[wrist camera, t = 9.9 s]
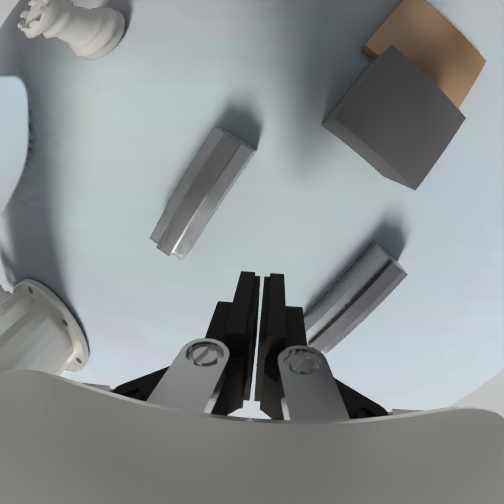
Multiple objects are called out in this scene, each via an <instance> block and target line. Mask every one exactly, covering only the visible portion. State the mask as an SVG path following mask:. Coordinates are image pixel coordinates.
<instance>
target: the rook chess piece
mask: <svg viewBox="0 0 504 504" xmlns="http://www.w3.org/2000/svg"><path fill="white" fill-rule="evenodd" d="M28 5H30V6H31V7H30V9H29V10H28V11H26V10H23V11H22V13H21V15H20V17H22V18H24V21H20V22H19V23H18V28H20V29H21V30H20V31H24V33H25V35H26V36H27V37H28V38H34V37H35V36H37V35H39V34H41V33H43V36H44V37H45V38H51V37H57V38H59V39H61V40H63V41H65V42H67V43H68V44H69V46H70V47H71V48H72V51H73V52H75V53H76V54H77V55H78V56H79V57H84V58H85V59H89V60H95V59H98V58H101V57H103V56H104V55H106V54H107V53H108V52H110V51H111V50H113V49H114V47H115V46H116V45H117V44H118V43H119V41H120V39H121V37H122V35H123V33H124V27H125V19H124V16H123V14H122V13H120V12H119V11H117V10H113V9H112V8H109V7H99V8H92V9H86V8H82V7H77V6H75V5H73V2H72V1H70V0H66V1H61V0H30V1H29V2H28Z"/></svg>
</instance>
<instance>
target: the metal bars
mask: <svg viewBox="0 0 504 504" xmlns="http://www.w3.org/2000/svg"><path fill="white" fill-rule="evenodd" d="M256 151H257V150H255V149H254V148H252V147H251V146H249V145H248V144H246V143H245V142H243V141H242V140H240V139H239V138H237V137H236V136H234V135H233V134H231V133H230V132H228V131H226V130H225V129H223V128H218V127H214V129H213V130H212V132H211V133H210V135H209V136H208V138H207V139H206V141H205V143H204V144H203V146H202V147H201V149H200V150H199V152H198V154H197V155H196V157H195V158H194V160H193V162H192V163H191V165H190V167H189V168H188V170H187V172H186V173H185V175H184V177H183V178H182V180H181V182H180V184H179V185H178V187H177V189H176V190H175V192H174V194H173V196H172V198H171V199H170V201H169V203H168V205H167V206H166V208H165V210H164V212H163V214H162V216H161V218H160V219H159V221H158V223H157V225H156V227H155V229H154V231H153V233H152V235H151V237H150V239H151V240H153V241H154V242H156V243H157V244H158V245H157V248H158V249H160V250H161V251H162V252H164V253H165V254H167V255H168V256H170V255H171V254H173V255H174V256H175V257H177V258H178V259H180V260H182V259H183V258H184V256H185V255H186V254H187V253H188V252H189V251H190V249H191V248H192V247H193V245H194V243H195V242H196V240H197V239H198V237H199V236H200V234H201V232H202V231H203V229H204V228H205V226H206V225H207V223H208V222H209V220H210V218H211V217H212V215H213V214H214V212H215V211H216V209H217V208H218V206H219V205H220V203H221V202H222V200H223V199H224V197H225V196H226V194H227V193H228V191H229V190H230V188H231V187H232V185H233V184H234V182H235V181H236V180H237V178H238V177H239V175H240V174H241V172H242V171H243V169H244V168H245V167H246V165H247V164H248V162H249V161H250V159H251V158H252V157H253V155H254V154H255V152H256ZM406 276H407V273H406V272H405V271H404V269H403V268H402V267H401V265H400V264H399V263H398V261H396V260H395V259H394V258H393V257H392V256H391V255H390V254H389V253H388V252H386V251H385V250H384V249H383V248H382V247H381V246H380V245H379V244H377V243H376V242H375V241H374V242H373V243H372V244H371V245H370V246H369V248H368V249H367V250H366V251H365V252H364V253H363V254H362V256H361V257H360V258H359V259H358V260H357V261H356V262H355V264H354V265H353V266H352V267H351V268H350V269H349V270H348V271H347V272H346V273H345V275H344V276H343V277H342V278H341V279H340V280H339V281H338V282H337V283H336V284H335V285H334V286H333V287H332V289H331V290H330V291H329V292H328V293H327V294H326V295H325V296H324V297H323V298H322V299H321V300H320V301H319V302H318V303H317V304H316V305H315V306H314V307H313V308H312V309H311V310H310V311H309V312H308V313H307V314H306V315H305V316H304V323H305V331H306V338H307V342H308V346H309V347H312V348H314V349H317V350H318V351H320V352H321V351H323V352H325V353H327V352H329V351H330V350H331V349H332V348H333V347H334V346H336V345H337V344H338V343H339V342H340V341H341V340H342V339H343V338H345V337H346V336H347V335H348V334H349V333H350V332H351V331H352V330H353V329H354V328H356V327H357V326H358V325H359V324H360V323H361V322H362V321H363V320H364V319H365V318H366V317H367V316H368V315H369V314H370V313H371V312H372V311H373V310H374V309H375V308H376V307H377V306H378V305H379V304H380V303H381V302H382V301H383V300H384V299H385V298H386V297H387V296H388V295H389V294H390V293H391V292H392V291H393V290H394V289H395V288H396V287H397V286H398V285H399V283H400V282H401V281H402V280H403V279H404V278H405V277H406Z"/></svg>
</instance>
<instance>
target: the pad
mask: <svg viewBox="0 0 504 504" xmlns="http://www.w3.org/2000/svg"><path fill="white" fill-rule="evenodd" d="M391 45H393V46H394V47H395V48H397V49H398V50H399V51H400V52H401V53H403V54H404V55H405V56H406V57H407V58H408V59H410V60H411V61H412V62H413V63H414V64H415V65H416V66H417V67H418V68H419V69H421V70H422V71H423V72H424V73H425V74H426V75H427V76H428V77H429V78H430V79H431V80H432V81H433V82H434V83H435V84H436V85H437V86H438V87H439V88H440V89H441V90H442V91H443V92H444V94H445V95H446V96H447V97H448V98H449V99H450V100H451V101H452V102H453V103H454V105H455V106H456V107H457V108H459V107H460V105H461V104H462V102H463V100H464V99H465V97H466V95H467V94H468V92H469V91H470V89H471V87H472V85H473V84H474V82H475V80H476V79H477V77H478V75H479V73H480V72H481V70H482V68H483V66H484V64H485V63H486V60H485V59H484V58H483V57H482V56H481V54H480V53H479V52H478V51H477V50H476V49H475V48H474V46H473V45H472V44H471V43H470V42H469V41H468V40H467V39H466V38H465V37H464V36H463V35H462V34H461V33H460V32H459V31H458V30H457V29H456V28H455V27H454V26H453V25H452V24H451V23H450V22H449V21H448V20H447V19H446V18H445V17H443V16H442V15H441V14H440V13H439V12H438V11H437V10H436V9H434V8H433V7H432V6H431V5H430V4H428V3H427V2H426V1H425V0H403V1H402V2H401V3H400V4H399V5H398V6H397V8H396V9H395V10H394V11H393V12H392V13H391V14H390V16H389V17H388V18H387V19H386V20H385V21H384V23H383V24H382V25H381V26H380V27H379V28H378V30H377V31H376V32H375V33H374V34H373V36H372V37H371V38H370V39H369V40H368V42H367V43H366V44H365V45H364V46H363V48H362V49H361V50H362V51H363V52H365V53H366V54H367V55H369V56H370V57H371V58H373V59H374V60H375V59H376V58H377V57H378V56H379V55H381V54H382V53H383V52H384V51H385V50H386V49H387V48H388V47H390V46H391Z"/></svg>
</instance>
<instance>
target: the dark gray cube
mask: <svg viewBox="0 0 504 504" xmlns="http://www.w3.org/2000/svg"><path fill="white" fill-rule="evenodd" d="M464 120H465V116H464V115H463V114H462V113H461V112H460V110H459V109H458V108H457V107H456V106H455V105H454V103H453V102H452V101H451V100H450V99H449V98H448V97H447V96H446V95H445V94H444V92H443V91H442V90H441V89H440V88H439V87H438V86H437V85H436V84H435V83H434V82H433V81H432V80H431V79H430V78H429V77H428V76H427V75H426V74H425V73H424V72H423V71H422V70H421V69H419V68H418V67H417V66H416V65H415V64H414V63H413V62H412V61H411V60H410V59H408V58H407V57H406V56H405V55H404V54H403V53H401V52H400V51H399V50H398V49H397V48H395V47H394V46H393V45H391V46H390V47H388V48H387V49H386V50H385V51H384V52H383V53H382V54H381V55H379V56H378V57H377V58H376V59H375V60H374V61H373V62H372V63H371V64H370V65H368V66H367V67H366V68H365V70H364V71H363V72H362V73H361V75H360V76H359V77H358V79H357V80H356V81H355V82H354V84H353V85H352V86H351V87H350V89H349V90H348V91H347V92H346V94H345V95H344V96H343V98H342V99H341V100H340V101H339V103H338V104H337V105H336V107H335V108H334V109H333V110H332V112H331V113H330V114H329V116H328V117H327V118H326V120H325V121H324V122H323V123H322V126H324V127H325V128H326V129H328V130H329V131H330V132H332V133H333V134H334V135H335V136H337V137H338V138H339V139H340V140H342V141H343V142H344V143H345V144H347V145H348V146H349V147H350V148H352V149H353V150H354V151H355V152H356V153H358V154H359V155H360V156H361V157H362V158H363V159H365V160H366V161H367V162H368V163H369V164H370V165H371V166H373V167H374V168H375V169H376V170H377V171H378V172H379V173H380V174H381V175H383V176H384V177H386V178H389V179H391V180H393V181H395V182H398V183H400V184H402V185H405V186H407V187H409V188H411V189H413V190H416V189H417V188H418V186H419V185H420V184H421V182H422V181H423V180H424V178H425V177H426V175H427V174H428V173H429V171H430V170H431V169H432V167H433V166H434V164H435V163H436V162H437V160H438V159H439V157H440V156H441V154H442V153H443V152H444V150H445V149H446V147H447V146H448V144H449V143H450V141H451V140H452V138H453V137H454V135H455V134H456V132H457V131H458V129H459V128H460V126H461V124H462V123H463V121H464Z"/></svg>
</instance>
